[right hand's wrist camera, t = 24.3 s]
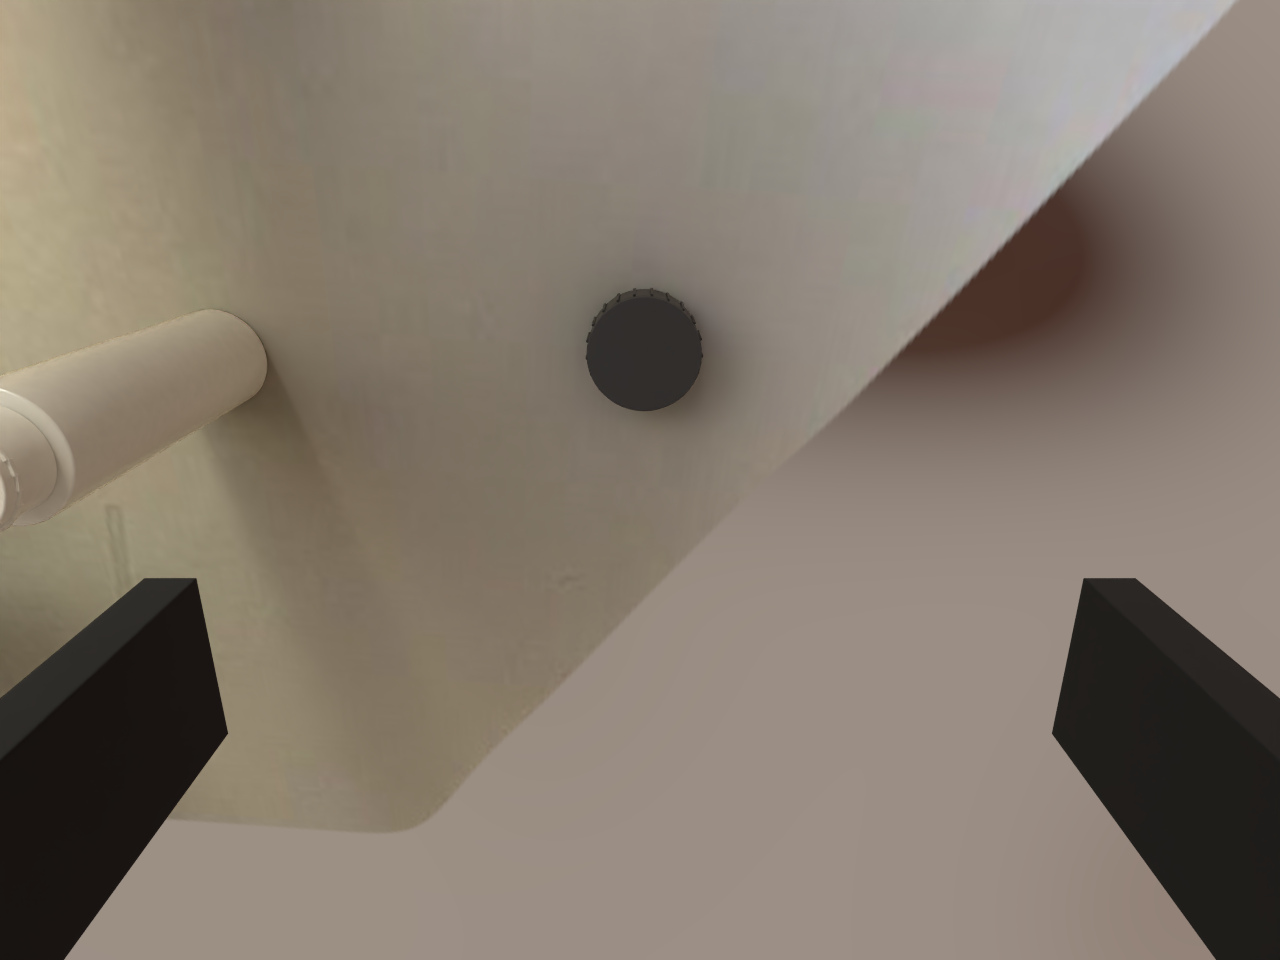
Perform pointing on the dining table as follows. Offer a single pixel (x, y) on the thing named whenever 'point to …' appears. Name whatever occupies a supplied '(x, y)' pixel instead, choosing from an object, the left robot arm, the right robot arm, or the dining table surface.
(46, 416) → the jar
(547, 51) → the dining table surface
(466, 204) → the dining table surface
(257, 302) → the dining table surface
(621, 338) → the lid
